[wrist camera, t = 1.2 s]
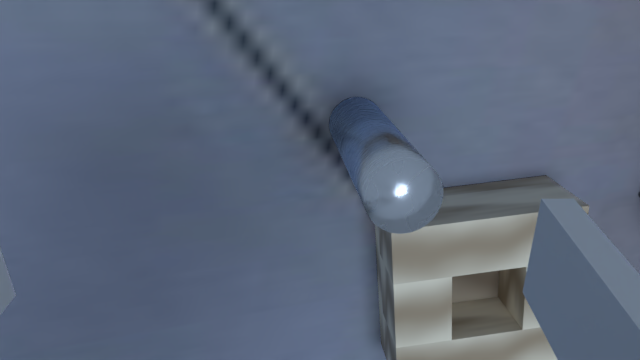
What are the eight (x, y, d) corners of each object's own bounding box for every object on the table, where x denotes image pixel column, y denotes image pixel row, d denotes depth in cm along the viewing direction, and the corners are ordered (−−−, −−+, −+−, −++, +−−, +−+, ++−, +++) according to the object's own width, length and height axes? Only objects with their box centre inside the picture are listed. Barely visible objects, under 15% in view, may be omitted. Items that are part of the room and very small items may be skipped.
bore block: (535, 321, 48) (571, 366, 43) (381, 343, 47) (397, 392, 42) (546, 175, 43) (588, 205, 38) (373, 196, 42) (391, 231, 37)
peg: (383, 146, 41) (443, 228, 28) (331, 152, 40) (366, 238, 28) (381, 94, 39) (443, 154, 26) (327, 100, 39) (362, 164, 26)
